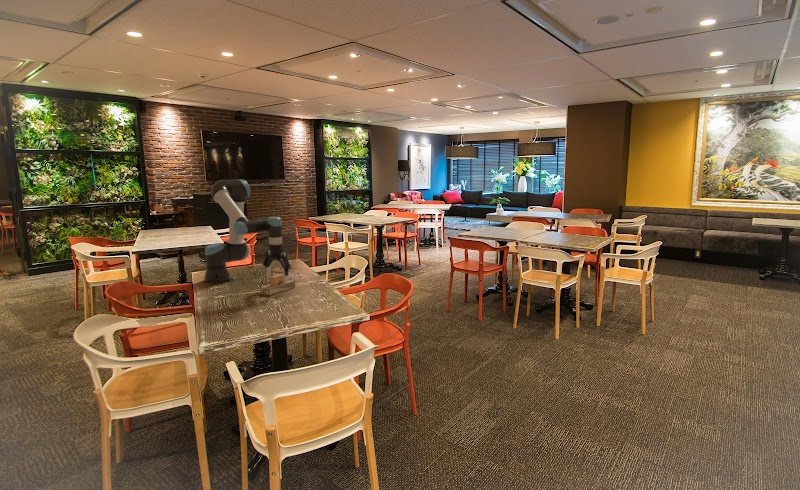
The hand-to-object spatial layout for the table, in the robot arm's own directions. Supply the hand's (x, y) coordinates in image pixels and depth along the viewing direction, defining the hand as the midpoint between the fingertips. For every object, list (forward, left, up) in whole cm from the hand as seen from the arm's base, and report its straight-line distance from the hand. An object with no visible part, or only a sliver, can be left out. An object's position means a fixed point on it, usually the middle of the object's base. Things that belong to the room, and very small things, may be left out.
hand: (277, 279), depth 250 cm
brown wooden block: (0, 0, -7) cm, 7 cm away
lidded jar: (-13, +16, -7) cm, 21 cm away
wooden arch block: (+1, 0, -7) cm, 7 cm away
